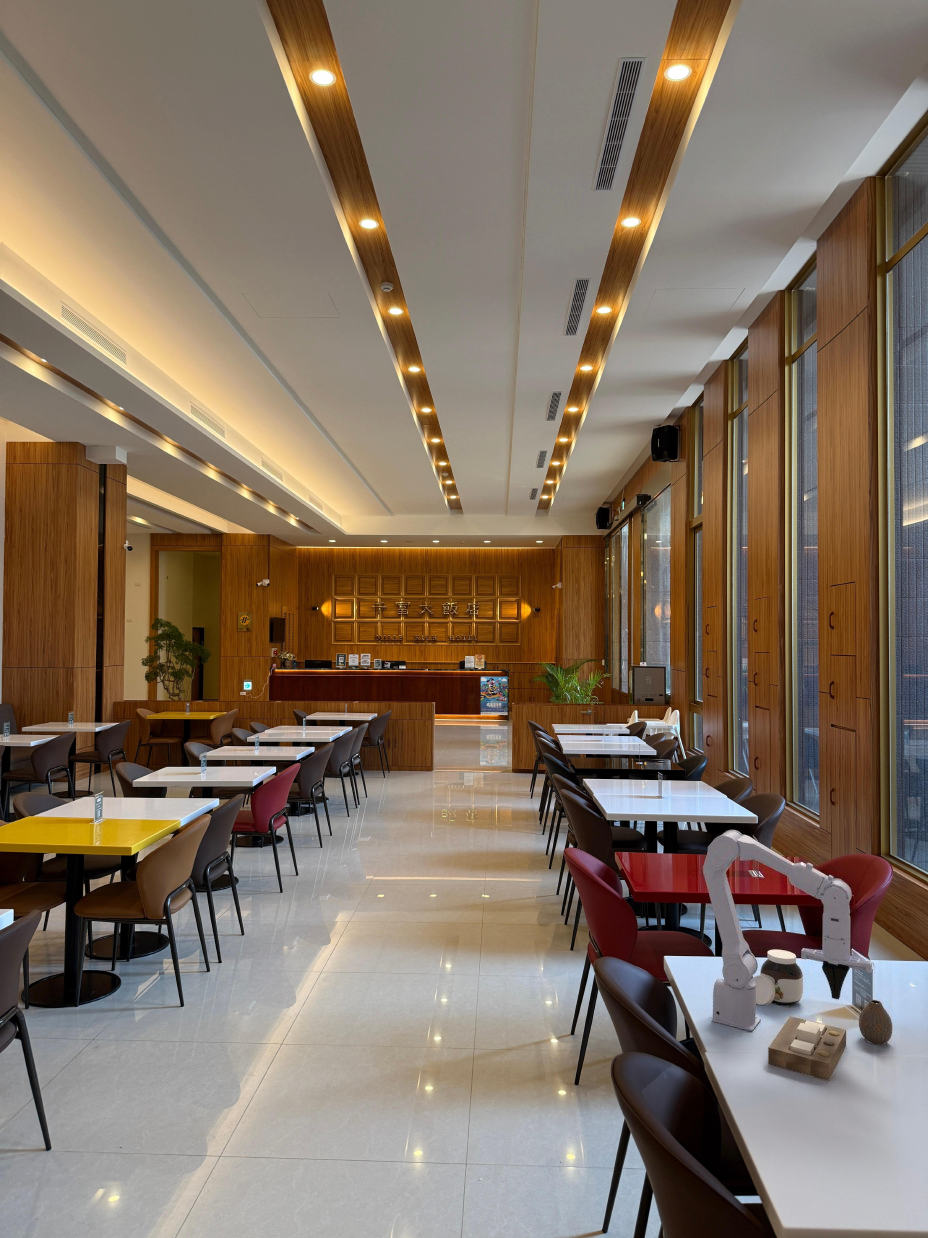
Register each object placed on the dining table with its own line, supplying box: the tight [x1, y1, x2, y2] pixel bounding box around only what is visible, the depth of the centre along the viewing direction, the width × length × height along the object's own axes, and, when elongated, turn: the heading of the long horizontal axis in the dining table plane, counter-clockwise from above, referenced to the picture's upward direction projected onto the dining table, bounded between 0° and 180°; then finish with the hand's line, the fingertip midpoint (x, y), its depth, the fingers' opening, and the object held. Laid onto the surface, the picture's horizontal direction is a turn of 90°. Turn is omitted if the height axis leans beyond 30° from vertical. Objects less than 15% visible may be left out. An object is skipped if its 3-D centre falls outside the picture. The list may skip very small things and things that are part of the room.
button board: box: [767, 1016, 847, 1082], centre depth 183 cm, size 12×20×4 cm, turn 146°
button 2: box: [805, 1020, 826, 1035], centre depth 188 cm, size 4×4×4 cm
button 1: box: [790, 1039, 814, 1056], centre depth 178 cm, size 4×4×4 cm
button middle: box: [797, 1023, 820, 1045], centre depth 183 cm, size 4×4×4 cm
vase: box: [858, 999, 893, 1046], centre depth 191 cm, size 7×7×9 cm
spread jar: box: [753, 949, 804, 1007], centre depth 212 cm, size 12×11×12 cm
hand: (835, 997), depth 189 cm, fingers closed
